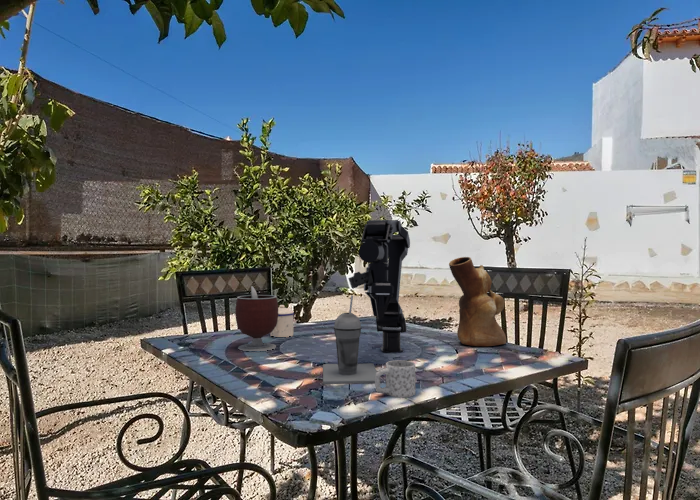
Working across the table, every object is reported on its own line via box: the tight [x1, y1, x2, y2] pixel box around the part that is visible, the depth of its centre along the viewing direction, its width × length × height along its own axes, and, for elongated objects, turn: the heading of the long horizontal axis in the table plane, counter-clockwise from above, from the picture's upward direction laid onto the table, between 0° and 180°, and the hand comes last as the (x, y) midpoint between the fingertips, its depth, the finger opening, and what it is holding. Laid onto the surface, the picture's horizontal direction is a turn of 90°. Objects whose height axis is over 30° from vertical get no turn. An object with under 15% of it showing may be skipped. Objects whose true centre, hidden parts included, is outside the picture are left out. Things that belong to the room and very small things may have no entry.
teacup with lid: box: [269, 304, 295, 338], centre depth 182 cm, size 12×9×12 cm
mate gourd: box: [234, 285, 279, 352], centre depth 161 cm, size 16×14×20 cm
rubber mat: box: [322, 362, 382, 385], centre depth 127 cm, size 18×14×1 cm
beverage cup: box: [333, 295, 362, 375], centre depth 126 cm, size 7×7×20 cm
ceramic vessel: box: [448, 256, 507, 347], centre depth 166 cm, size 16×22×30 cm
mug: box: [374, 359, 416, 398], centre depth 109 cm, size 10×7×7 cm
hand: (377, 317), depth 140 cm, fingers open, 9 cm apart
